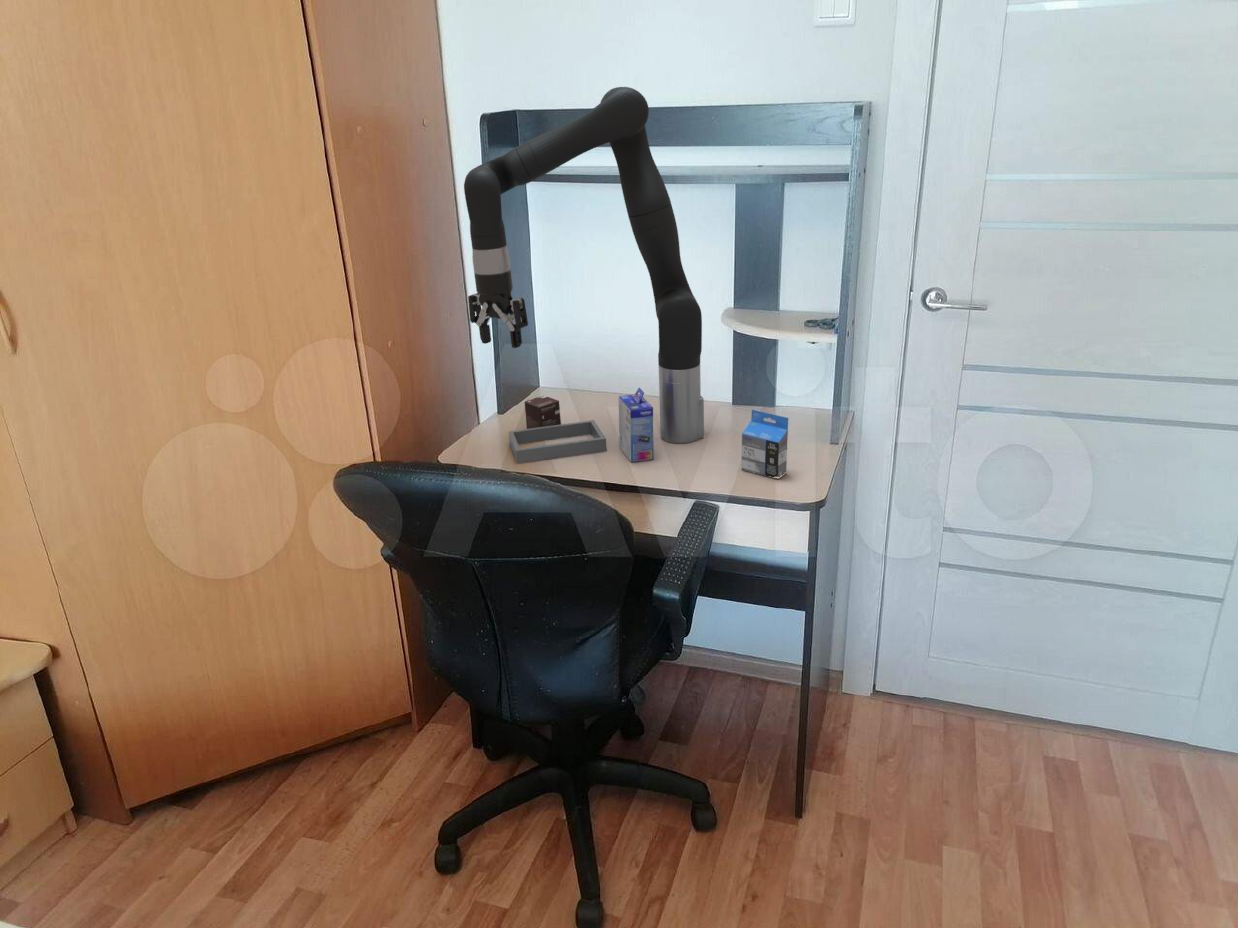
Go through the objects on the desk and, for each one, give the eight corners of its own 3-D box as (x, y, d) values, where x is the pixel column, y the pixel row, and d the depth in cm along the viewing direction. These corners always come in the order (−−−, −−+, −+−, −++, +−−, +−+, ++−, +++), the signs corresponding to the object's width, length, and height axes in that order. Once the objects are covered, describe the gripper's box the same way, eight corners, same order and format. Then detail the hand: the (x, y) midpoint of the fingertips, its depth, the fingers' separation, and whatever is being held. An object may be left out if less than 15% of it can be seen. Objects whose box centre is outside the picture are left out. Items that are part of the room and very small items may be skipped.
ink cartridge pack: (740, 470, 188) (740, 414, 183) (750, 463, 191) (751, 409, 186) (777, 480, 183) (779, 423, 178) (787, 473, 186) (789, 417, 181)
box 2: (594, 431, 211) (593, 419, 210) (606, 451, 201) (606, 438, 200) (509, 443, 207) (508, 431, 206) (517, 463, 197) (516, 451, 195)
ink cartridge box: (655, 460, 195) (653, 396, 189) (631, 463, 194) (628, 400, 188) (642, 443, 204) (640, 382, 198) (618, 447, 203) (615, 385, 197)
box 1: (541, 437, 210) (538, 407, 207) (526, 430, 214) (523, 401, 211) (562, 429, 214) (559, 400, 211) (546, 423, 218) (544, 394, 215)
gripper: (530, 267, 186) (538, 344, 192) (479, 263, 193) (488, 336, 200) (505, 275, 180) (515, 353, 187) (454, 270, 188) (465, 345, 194)
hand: (501, 344), depth 193 cm, fingers open, 8 cm apart
